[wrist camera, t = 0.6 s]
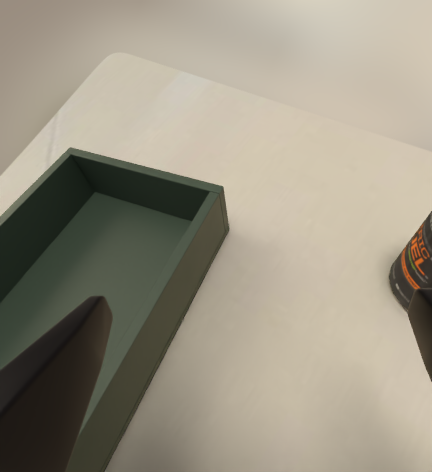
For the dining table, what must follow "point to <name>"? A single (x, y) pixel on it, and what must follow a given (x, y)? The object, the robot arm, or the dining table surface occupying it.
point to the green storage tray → (107, 273)
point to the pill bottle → (413, 265)
